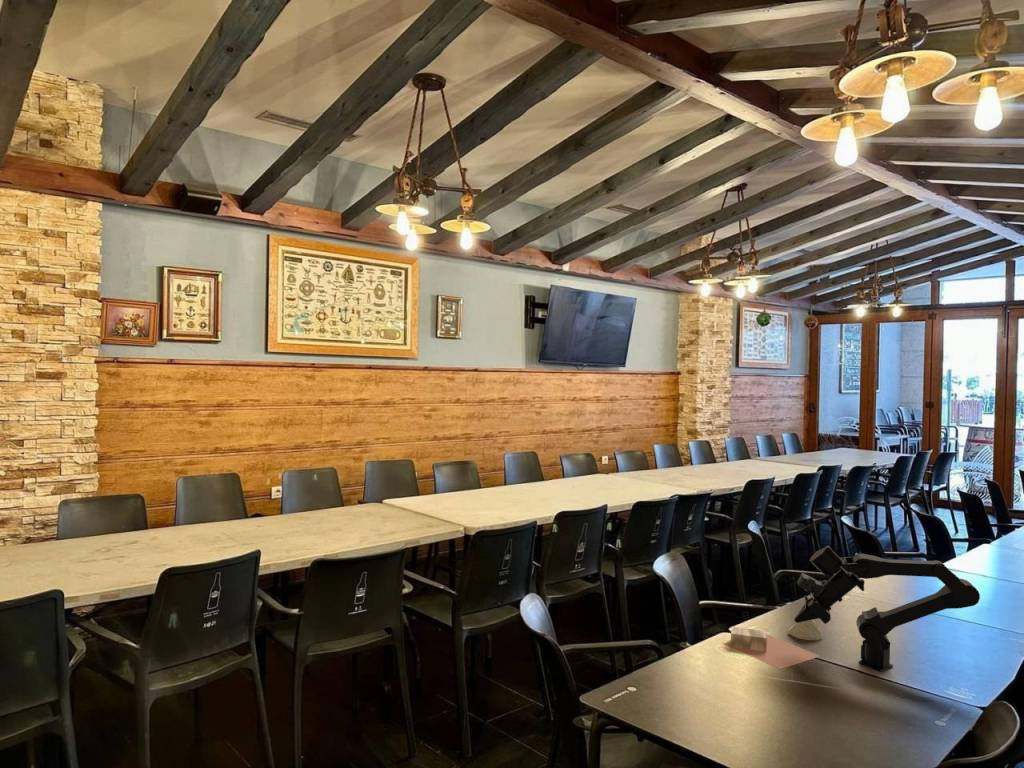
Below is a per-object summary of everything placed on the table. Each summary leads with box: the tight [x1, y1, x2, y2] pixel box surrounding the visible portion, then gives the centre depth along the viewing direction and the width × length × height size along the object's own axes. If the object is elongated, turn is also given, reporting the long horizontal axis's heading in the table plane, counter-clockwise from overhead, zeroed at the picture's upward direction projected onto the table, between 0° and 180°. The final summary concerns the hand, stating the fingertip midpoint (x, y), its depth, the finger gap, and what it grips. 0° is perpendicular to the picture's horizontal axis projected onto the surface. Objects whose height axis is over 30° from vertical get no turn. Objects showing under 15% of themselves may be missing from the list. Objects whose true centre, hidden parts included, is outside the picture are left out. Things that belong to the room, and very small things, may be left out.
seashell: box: [787, 619, 823, 641], centre depth 214 cm, size 8×8×8 cm
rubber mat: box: [724, 634, 821, 670], centre depth 202 cm, size 20×18×1 cm
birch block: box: [730, 626, 768, 652], centre depth 205 cm, size 4×6×10 cm
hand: (795, 621), depth 201 cm, fingers closed
